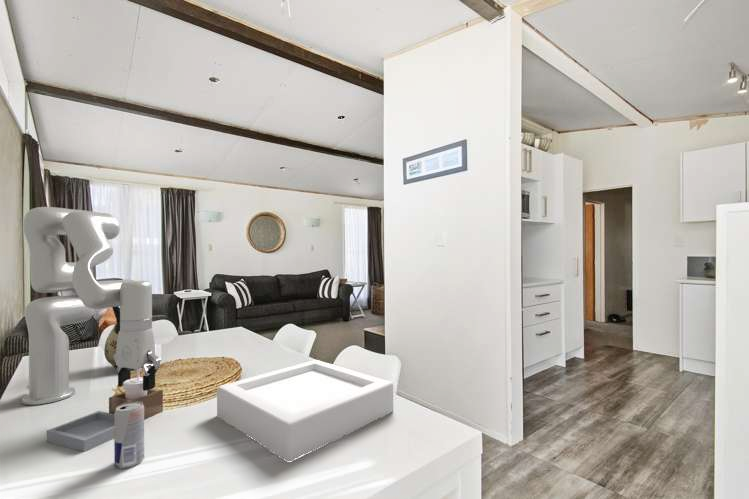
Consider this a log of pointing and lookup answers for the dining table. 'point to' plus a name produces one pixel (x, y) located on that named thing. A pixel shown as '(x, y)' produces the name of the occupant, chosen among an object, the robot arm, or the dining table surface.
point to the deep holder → (150, 401)
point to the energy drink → (128, 435)
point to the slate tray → (84, 431)
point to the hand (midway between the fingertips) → (136, 387)
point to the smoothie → (134, 388)
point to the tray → (303, 406)
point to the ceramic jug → (113, 339)
